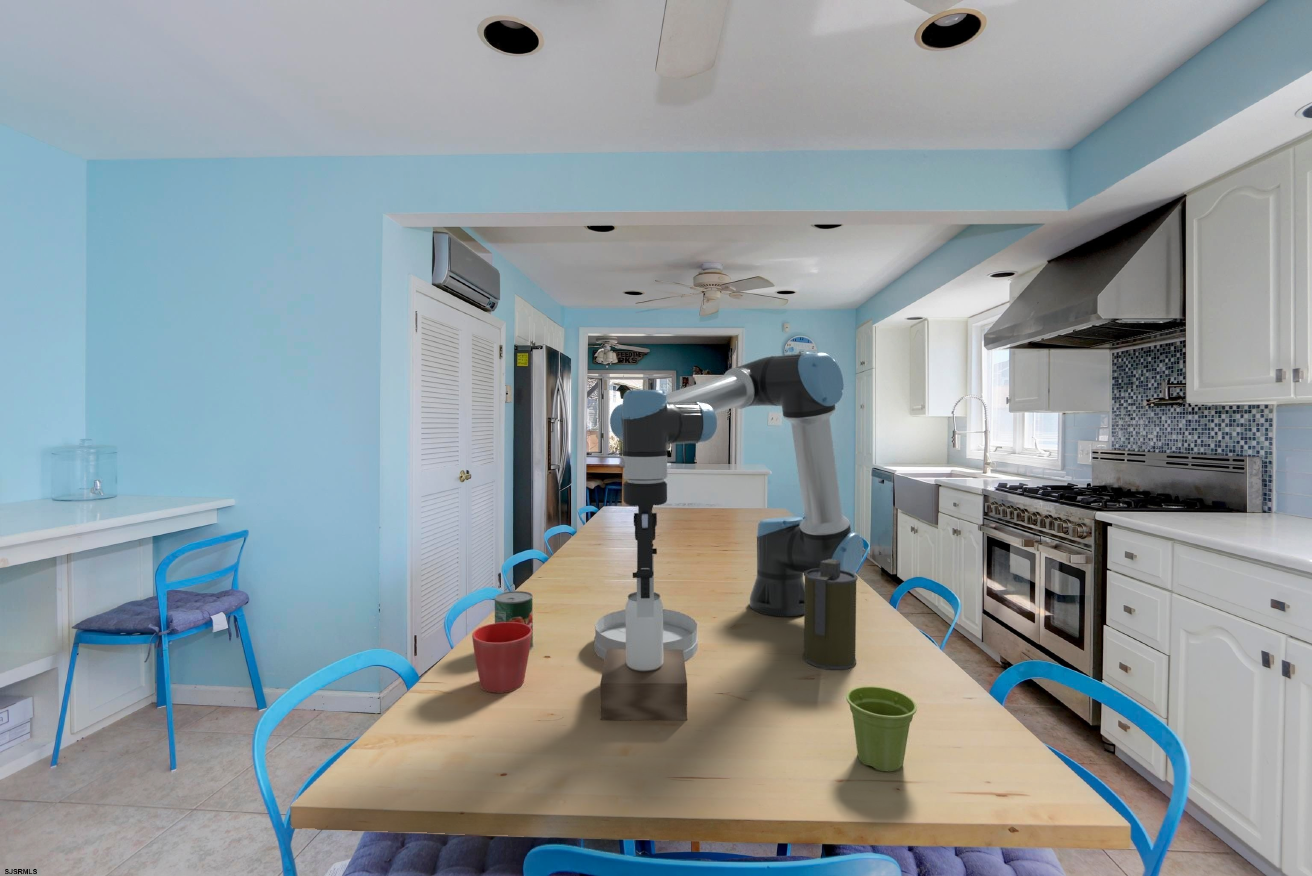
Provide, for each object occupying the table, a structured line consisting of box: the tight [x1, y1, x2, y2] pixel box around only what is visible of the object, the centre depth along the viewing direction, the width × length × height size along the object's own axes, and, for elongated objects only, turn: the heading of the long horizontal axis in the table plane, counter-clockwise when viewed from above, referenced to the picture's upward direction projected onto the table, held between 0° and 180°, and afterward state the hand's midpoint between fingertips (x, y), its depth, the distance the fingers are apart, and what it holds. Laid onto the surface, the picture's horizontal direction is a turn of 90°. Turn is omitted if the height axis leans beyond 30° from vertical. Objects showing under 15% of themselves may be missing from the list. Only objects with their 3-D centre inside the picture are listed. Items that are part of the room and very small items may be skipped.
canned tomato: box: [494, 590, 534, 650], centre depth 125 cm, size 8×8×11 cm
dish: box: [593, 608, 699, 662], centre depth 127 cm, size 22×22×5 cm
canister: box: [802, 559, 858, 671], centre depth 120 cm, size 11×10×20 cm
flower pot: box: [471, 622, 532, 694], centre depth 108 cm, size 11×11×10 cm
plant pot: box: [845, 685, 918, 772], centre depth 85 cm, size 9×9×9 cm
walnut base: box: [599, 649, 688, 721], centre depth 103 cm, size 14×14×6 cm
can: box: [624, 591, 664, 672], centre depth 102 cm, size 6×6×12 cm
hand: (646, 603), depth 102 cm, fingers open, 13 cm apart
